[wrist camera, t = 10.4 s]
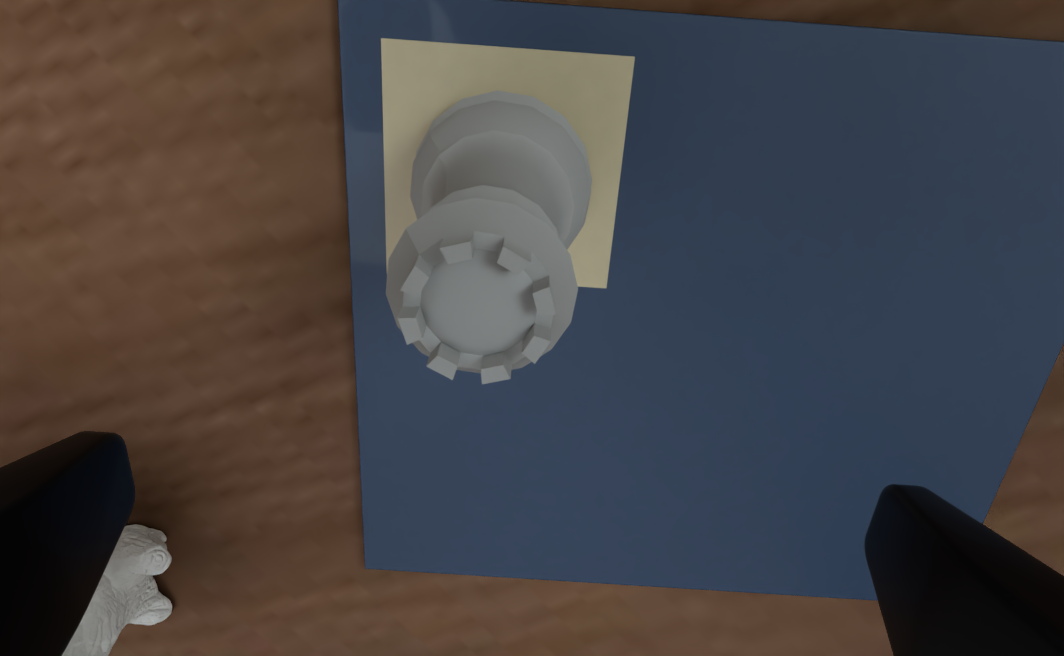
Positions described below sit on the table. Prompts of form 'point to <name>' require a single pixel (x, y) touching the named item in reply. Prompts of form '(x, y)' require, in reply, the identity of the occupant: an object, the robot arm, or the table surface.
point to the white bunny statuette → (125, 592)
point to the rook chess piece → (491, 236)
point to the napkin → (714, 292)
